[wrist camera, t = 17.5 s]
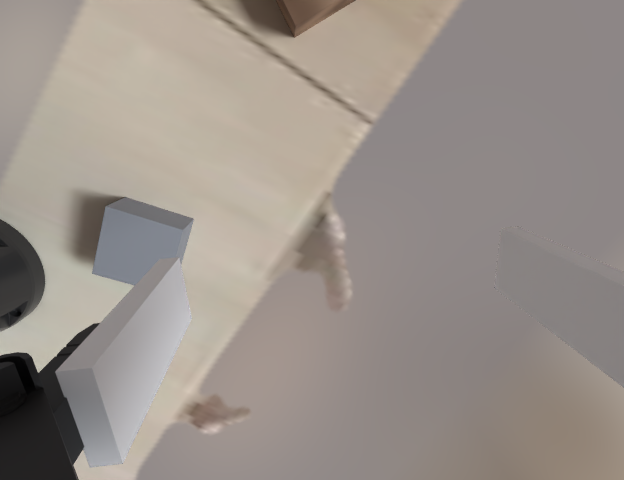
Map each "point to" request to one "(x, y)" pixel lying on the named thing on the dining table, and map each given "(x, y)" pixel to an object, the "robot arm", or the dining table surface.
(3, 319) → the robot arm
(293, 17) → the walnut block
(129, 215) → the slate block
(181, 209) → the dining table surface
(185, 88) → the dining table surface
